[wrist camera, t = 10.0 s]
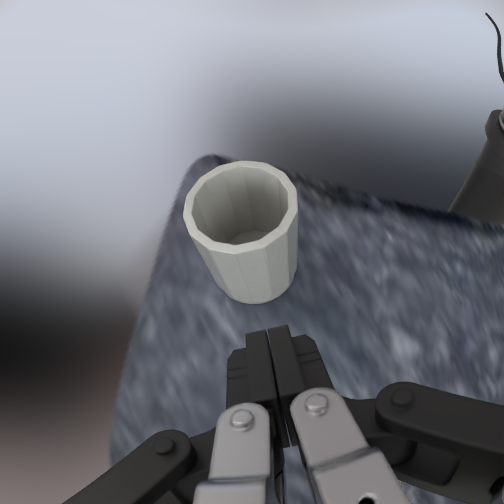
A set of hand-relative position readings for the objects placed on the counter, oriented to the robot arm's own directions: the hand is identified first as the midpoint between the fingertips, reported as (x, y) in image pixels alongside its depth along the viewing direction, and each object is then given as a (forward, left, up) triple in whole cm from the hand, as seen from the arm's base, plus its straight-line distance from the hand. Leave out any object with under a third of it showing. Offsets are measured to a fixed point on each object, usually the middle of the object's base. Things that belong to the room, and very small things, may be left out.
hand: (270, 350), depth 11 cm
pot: (-6, -6, -9) cm, 12 cm away
